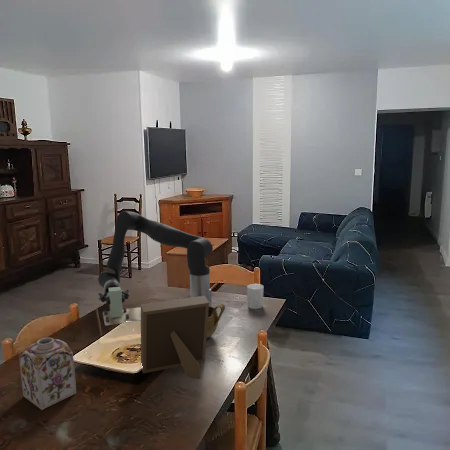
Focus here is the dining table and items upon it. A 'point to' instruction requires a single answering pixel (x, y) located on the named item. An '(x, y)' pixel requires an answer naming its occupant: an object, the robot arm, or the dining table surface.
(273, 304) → the dining table surface
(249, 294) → the white cup
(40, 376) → the decorative jar
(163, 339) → the photo frame
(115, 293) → the green block
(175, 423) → the dining table surface
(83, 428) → the dining table surface
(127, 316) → the peg board
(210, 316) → the ceramic bowl
